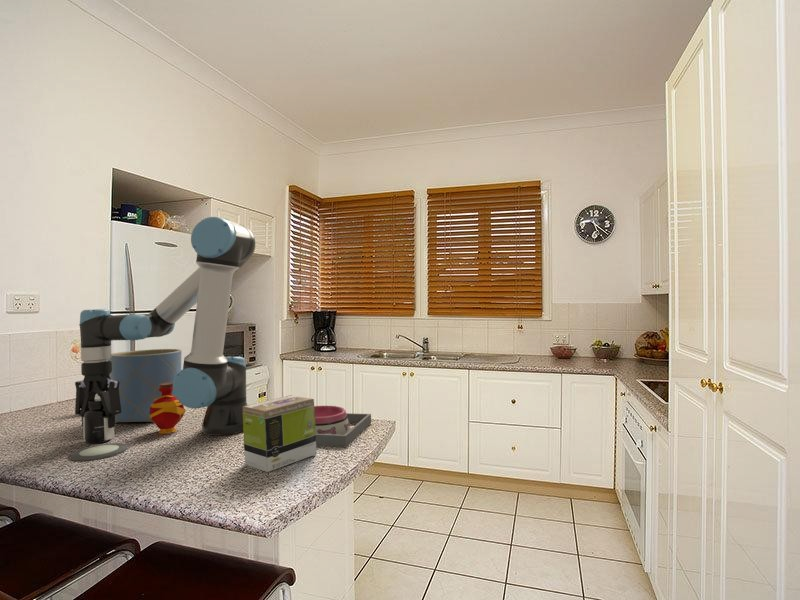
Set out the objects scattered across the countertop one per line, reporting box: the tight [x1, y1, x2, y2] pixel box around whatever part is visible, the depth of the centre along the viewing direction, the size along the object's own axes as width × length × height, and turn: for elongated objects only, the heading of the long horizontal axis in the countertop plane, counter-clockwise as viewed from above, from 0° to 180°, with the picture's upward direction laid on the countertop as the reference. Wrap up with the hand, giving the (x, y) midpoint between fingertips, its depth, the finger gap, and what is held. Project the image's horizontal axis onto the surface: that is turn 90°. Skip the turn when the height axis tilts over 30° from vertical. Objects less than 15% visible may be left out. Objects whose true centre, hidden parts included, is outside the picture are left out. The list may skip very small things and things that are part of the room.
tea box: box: [243, 394, 318, 473], centre depth 113 cm, size 15×10×15 cm, turn 141°
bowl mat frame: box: [316, 412, 372, 448], centre depth 136 cm, size 24×24×3 cm
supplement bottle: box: [84, 399, 111, 444], centre depth 133 cm, size 7×7×12 cm
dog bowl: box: [314, 405, 352, 435], centre depth 136 cm, size 18×19×7 cm
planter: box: [109, 348, 183, 424], centre depth 161 cm, size 23×23×24 cm
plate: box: [69, 442, 128, 462], centre depth 122 cm, size 13×13×1 cm
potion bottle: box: [149, 383, 186, 435], centre depth 142 cm, size 10×10×15 cm
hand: (99, 438), depth 133 cm, fingers closed on supplement bottle, 7 cm apart
